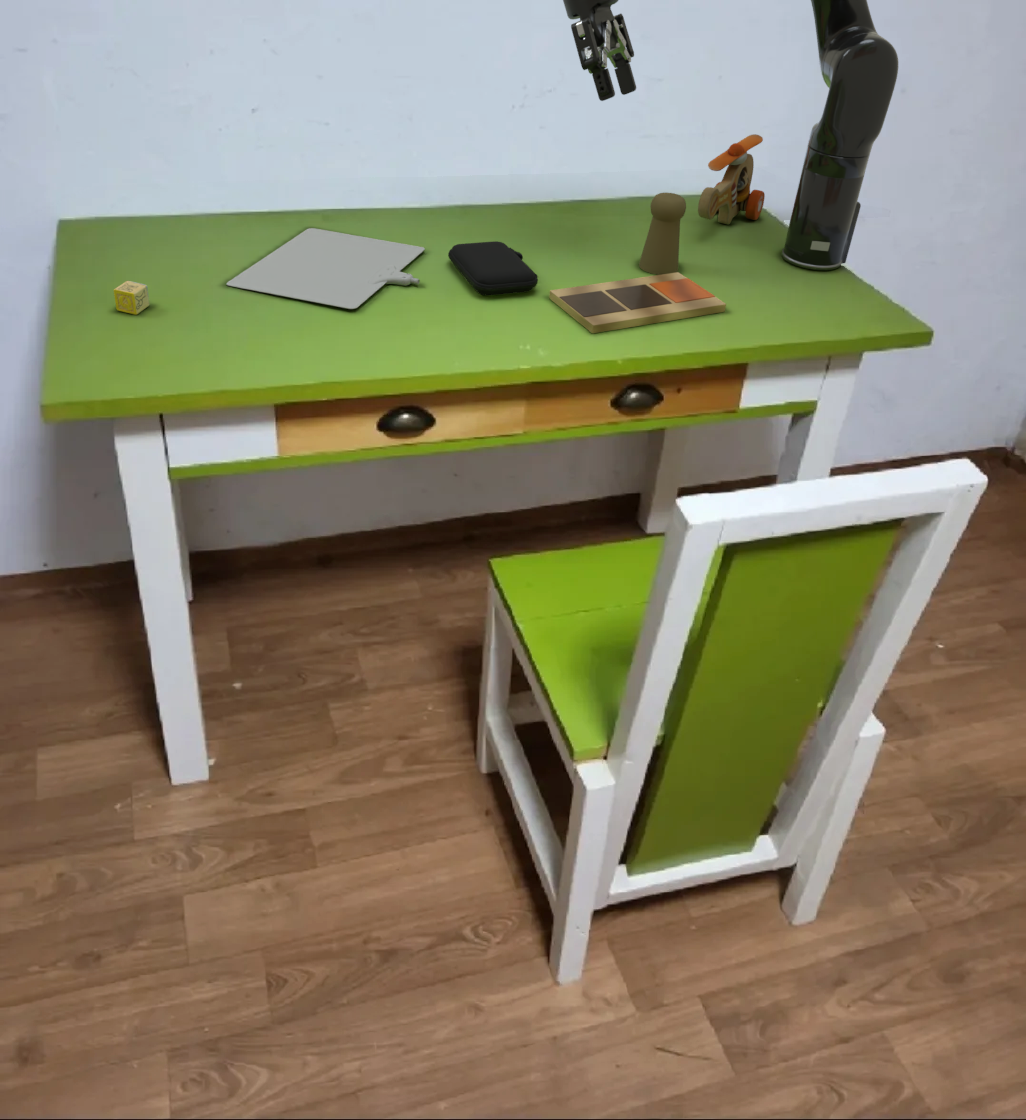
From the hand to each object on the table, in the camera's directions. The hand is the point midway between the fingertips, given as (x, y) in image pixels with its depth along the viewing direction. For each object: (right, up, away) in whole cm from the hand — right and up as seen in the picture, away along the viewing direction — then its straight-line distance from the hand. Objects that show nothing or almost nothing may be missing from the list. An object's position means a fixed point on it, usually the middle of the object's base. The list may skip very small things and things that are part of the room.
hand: (619, 95), depth 150 cm
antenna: (-40, -24, +2) cm, 47 cm away
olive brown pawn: (+7, -21, +12) cm, 25 cm away
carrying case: (-18, -25, +4) cm, 31 cm away
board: (+2, -30, -1) cm, 30 cm away
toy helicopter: (+20, -9, +29) cm, 37 cm away
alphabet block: (-64, -34, -13) cm, 74 cm away
